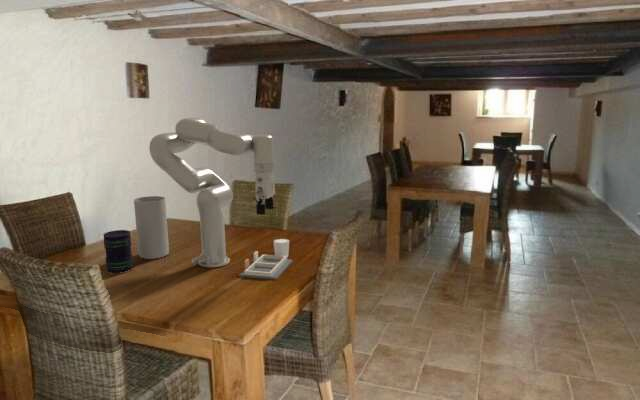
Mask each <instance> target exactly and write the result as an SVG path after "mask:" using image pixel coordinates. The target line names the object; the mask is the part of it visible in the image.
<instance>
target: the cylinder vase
mask: <svg viewBox="0 0 640 400" xmlns="http://www.w3.org/2000/svg"><path fill="white" fill-rule="evenodd" d="M133 204H134V205H133V207H134V216H135V218H134V219H135V227H136V230H135V231H136V238H137V239H136V240H137V241H136V242H137V250H138V256H139V258H140V257H141V259H143V258H144V259H143V260H157V259H156V258H158V259H162V258H165V257H166V255H167V256H168V255H169V253H170V248H169V247H170V246H169V234H168V221H167V220H168V217H167V206H166V197H165V196H159V195H158V196H157V195H149V196H141V197H136V198H135V199H133ZM164 256H165V257H164ZM161 257H162V258H161Z"/></svg>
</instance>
